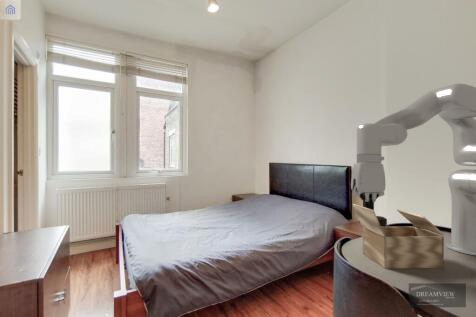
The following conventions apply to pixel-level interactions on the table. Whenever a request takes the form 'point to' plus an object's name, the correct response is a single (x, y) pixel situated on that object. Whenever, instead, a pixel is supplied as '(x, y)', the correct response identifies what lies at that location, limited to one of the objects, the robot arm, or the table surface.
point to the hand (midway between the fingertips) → (368, 212)
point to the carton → (404, 248)
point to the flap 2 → (420, 221)
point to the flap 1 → (368, 219)
